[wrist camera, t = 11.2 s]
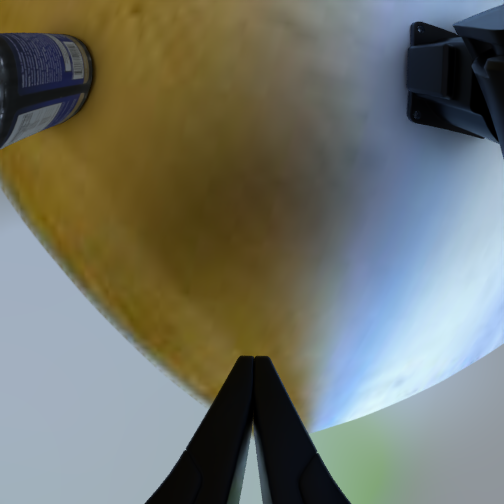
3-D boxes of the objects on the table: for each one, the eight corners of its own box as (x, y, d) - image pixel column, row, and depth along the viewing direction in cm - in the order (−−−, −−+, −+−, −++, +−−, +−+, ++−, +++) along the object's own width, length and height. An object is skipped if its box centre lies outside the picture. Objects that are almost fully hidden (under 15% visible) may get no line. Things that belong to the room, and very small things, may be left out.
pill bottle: (35, 35, 12) (-97, 49, 3) (107, 36, 13) (-36, 28, 4) (21, 119, 15) (-101, 178, 6) (87, 130, 16) (-44, 202, 7)
